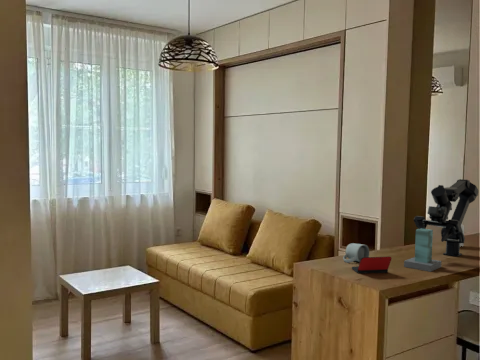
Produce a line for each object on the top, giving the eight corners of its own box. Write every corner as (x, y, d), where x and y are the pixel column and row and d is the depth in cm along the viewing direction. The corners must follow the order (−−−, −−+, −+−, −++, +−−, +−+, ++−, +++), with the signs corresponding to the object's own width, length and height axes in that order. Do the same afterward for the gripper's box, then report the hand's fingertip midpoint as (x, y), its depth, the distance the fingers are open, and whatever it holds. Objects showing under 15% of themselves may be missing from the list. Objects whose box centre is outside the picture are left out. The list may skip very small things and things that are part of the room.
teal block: (419, 258, 195) (420, 228, 194) (431, 261, 191) (432, 229, 190) (414, 260, 191) (415, 229, 190) (426, 263, 187) (427, 231, 187)
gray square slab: (415, 262, 199) (415, 256, 199) (441, 267, 191) (441, 261, 191) (403, 266, 191) (404, 260, 191) (430, 271, 183) (430, 265, 183)
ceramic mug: (355, 257, 207) (355, 240, 206) (369, 261, 200) (370, 243, 199) (338, 260, 201) (338, 243, 200) (352, 264, 194) (352, 246, 194)
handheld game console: (380, 268, 189) (380, 250, 188) (391, 275, 178) (392, 256, 178) (350, 269, 187) (351, 251, 187) (360, 276, 176) (361, 257, 176)
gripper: (416, 197, 205) (404, 225, 198) (459, 201, 192) (448, 230, 185) (422, 213, 211) (411, 240, 204) (465, 218, 198) (455, 247, 191)
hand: (430, 239), depth 196 cm, fingers open, 9 cm apart
